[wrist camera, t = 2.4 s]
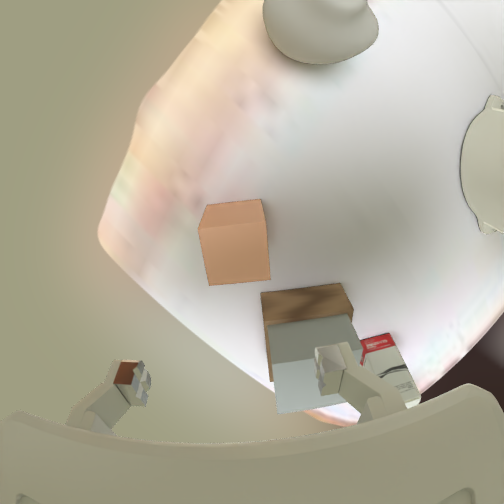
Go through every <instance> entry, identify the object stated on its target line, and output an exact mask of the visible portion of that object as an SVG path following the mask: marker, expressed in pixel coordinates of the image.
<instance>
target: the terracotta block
mask: <svg viewBox="0 0 504 504" xmlns="http://www.w3.org/2000/svg"><path fill="white" fill-rule="evenodd" d="M198 233H199V238H200V243H201V248H202V253H203V258H204V263H205V268H206V273H207V278H208V282H209V286H212V285H223V284H234V283H244V282H254V281H263V280H271V279H270V266H269V253H268V241H267V229H266V220H265V216H264V211H263V207H262V203H261V199H255V200H245V201H236V202H227V203H219V204H211V205H207V206H206V209H205V211H204V214H203V217H202V219H201V222H200V224H199V227H198Z"/></svg>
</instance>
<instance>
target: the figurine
mask: <svg viewBox="0 0 504 504" xmlns="http://www.w3.org/2000/svg"><path fill="white" fill-rule="evenodd" d="M263 18H264V23H265V26H266V30H267V32H268V35H269V37H270V39H271V40H272V42H273V43H274V45H275V46H276V47H277V48H278V49H279V50H280V51H281V52H282V53H283V54H285V55H286V56H288V57H289V58H291V59H293V60H296V61H299V62H303V63H308V64H331V63H337V62H341V61H344V60H347V59H349V58H352V57H354V56H356V55H358V54H360V53H362V52H363V51H365V50H366V49H368V48H369V47H370V46H371V45H372V44H373V43H374V42H375V40H376V39H377V36H378V30H379V27H378V22H377V19H376V17H375V15H374V14H373V12H372V10H371V9H370V7H369V6H368V4H367V0H264V3H263Z"/></svg>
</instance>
